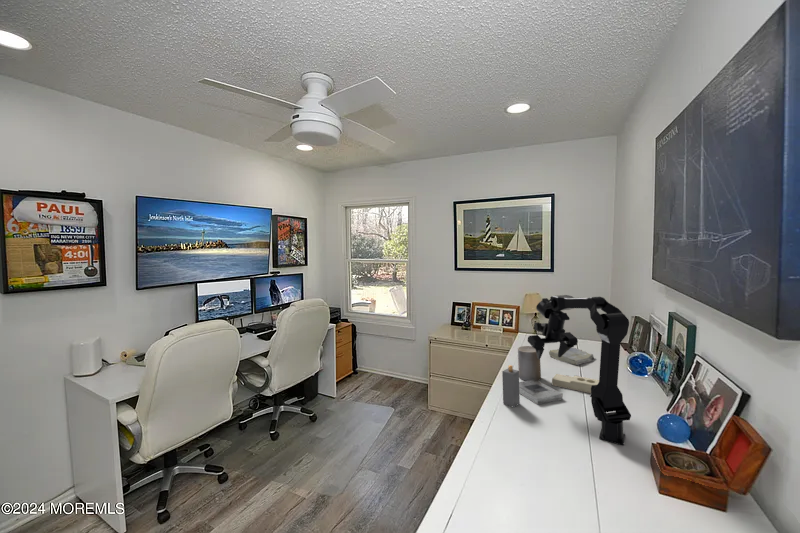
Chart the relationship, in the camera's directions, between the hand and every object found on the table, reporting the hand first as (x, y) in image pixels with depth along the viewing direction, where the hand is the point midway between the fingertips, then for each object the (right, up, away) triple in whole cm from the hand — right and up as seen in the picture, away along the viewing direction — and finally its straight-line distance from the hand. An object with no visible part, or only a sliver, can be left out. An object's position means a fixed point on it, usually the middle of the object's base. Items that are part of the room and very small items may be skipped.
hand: (548, 357), depth 136 cm
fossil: (+33, -13, +44) cm, 56 cm away
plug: (-17, -16, -6) cm, 25 cm away
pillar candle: (-1, -15, +19) cm, 24 cm away
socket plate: (-4, -15, +2) cm, 16 cm away
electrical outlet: (+15, -15, +7) cm, 22 cm away
